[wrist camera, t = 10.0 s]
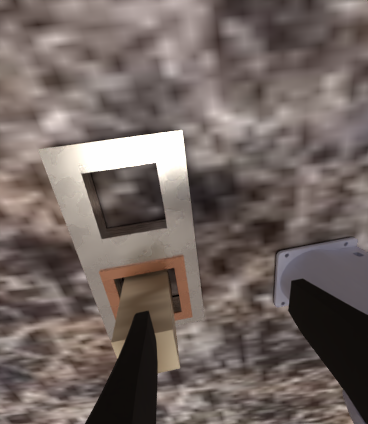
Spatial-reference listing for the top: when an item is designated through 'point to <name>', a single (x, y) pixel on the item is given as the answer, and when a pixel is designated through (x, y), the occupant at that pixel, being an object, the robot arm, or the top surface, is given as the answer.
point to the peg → (159, 312)
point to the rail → (130, 234)
